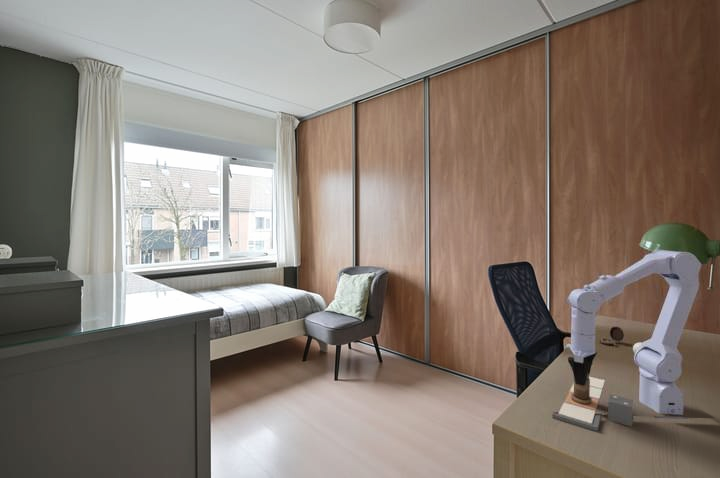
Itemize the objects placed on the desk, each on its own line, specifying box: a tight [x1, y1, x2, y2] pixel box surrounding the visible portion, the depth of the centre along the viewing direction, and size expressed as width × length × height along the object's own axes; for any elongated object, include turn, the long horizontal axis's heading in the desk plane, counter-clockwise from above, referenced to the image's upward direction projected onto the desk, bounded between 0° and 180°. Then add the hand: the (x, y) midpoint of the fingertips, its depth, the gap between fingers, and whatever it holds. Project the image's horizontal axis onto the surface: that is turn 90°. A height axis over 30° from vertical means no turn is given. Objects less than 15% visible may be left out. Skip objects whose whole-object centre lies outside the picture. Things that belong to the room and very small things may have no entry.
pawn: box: [572, 374, 592, 405], centre depth 100 cm, size 5×5×9 cm
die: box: [607, 394, 634, 428], centre depth 92 cm, size 5×5×5 cm
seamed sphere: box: [629, 342, 643, 354], centre depth 136 cm, size 8×6×6 cm
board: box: [551, 376, 606, 432], centre depth 103 cm, size 33×10×1 cm, turn 140°
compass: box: [599, 326, 625, 347], centre depth 150 cm, size 8×8×7 cm
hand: (582, 379), depth 100 cm, fingers open, 7 cm apart
